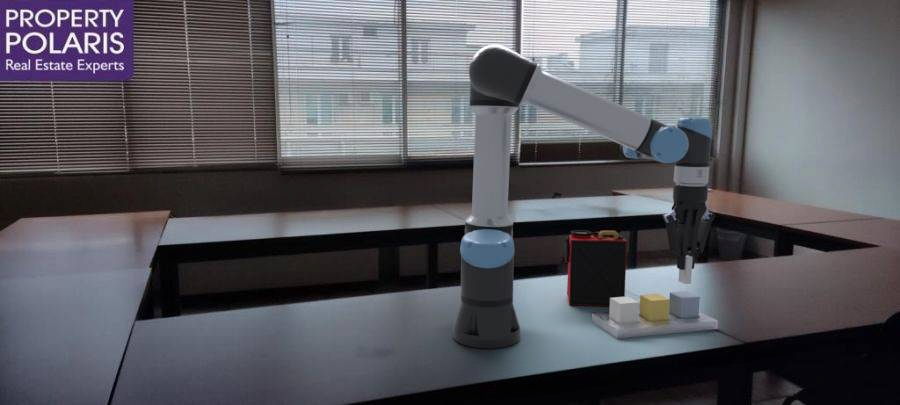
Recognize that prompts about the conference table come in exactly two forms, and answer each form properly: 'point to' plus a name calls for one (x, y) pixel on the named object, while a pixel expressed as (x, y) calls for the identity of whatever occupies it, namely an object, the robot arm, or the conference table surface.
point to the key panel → (654, 325)
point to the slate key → (684, 304)
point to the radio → (595, 267)
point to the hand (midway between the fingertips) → (684, 282)
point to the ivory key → (624, 310)
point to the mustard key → (654, 307)
